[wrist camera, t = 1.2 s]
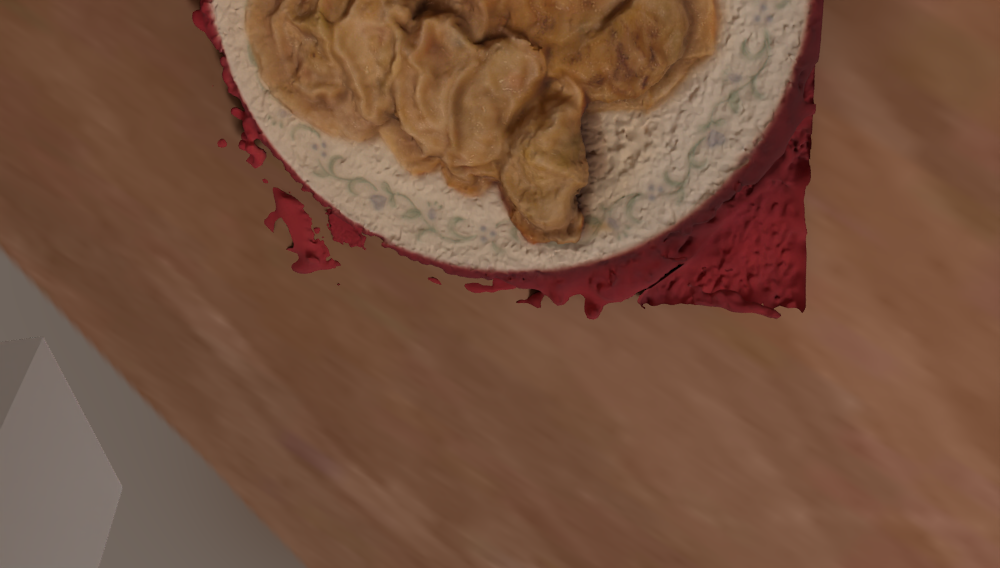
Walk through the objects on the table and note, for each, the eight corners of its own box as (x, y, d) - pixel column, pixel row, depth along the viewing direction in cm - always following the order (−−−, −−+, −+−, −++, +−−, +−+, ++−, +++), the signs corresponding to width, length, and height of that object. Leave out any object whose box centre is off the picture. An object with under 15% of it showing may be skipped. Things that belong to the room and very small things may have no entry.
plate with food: (836, -479, 29) (857, -523, 26) (800, 297, 39) (811, 335, 36) (121, -367, 34) (63, -392, 30) (257, 301, 44) (224, 334, 41)
